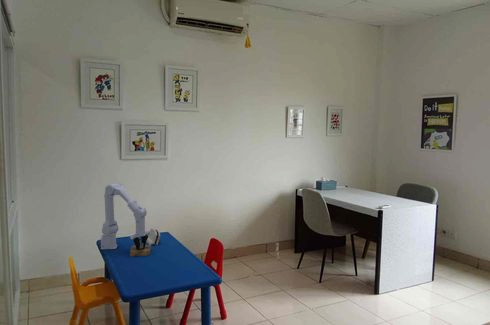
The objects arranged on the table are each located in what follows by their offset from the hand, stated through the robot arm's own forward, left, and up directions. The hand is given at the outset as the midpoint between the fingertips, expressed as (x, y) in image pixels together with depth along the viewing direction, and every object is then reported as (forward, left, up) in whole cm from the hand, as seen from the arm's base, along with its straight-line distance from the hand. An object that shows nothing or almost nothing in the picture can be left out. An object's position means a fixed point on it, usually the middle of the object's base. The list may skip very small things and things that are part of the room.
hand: (140, 247), depth 245 cm
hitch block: (0, 0, -3) cm, 3 cm away
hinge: (+6, +23, -4) cm, 24 cm away
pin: (0, 0, -4) cm, 4 cm away
